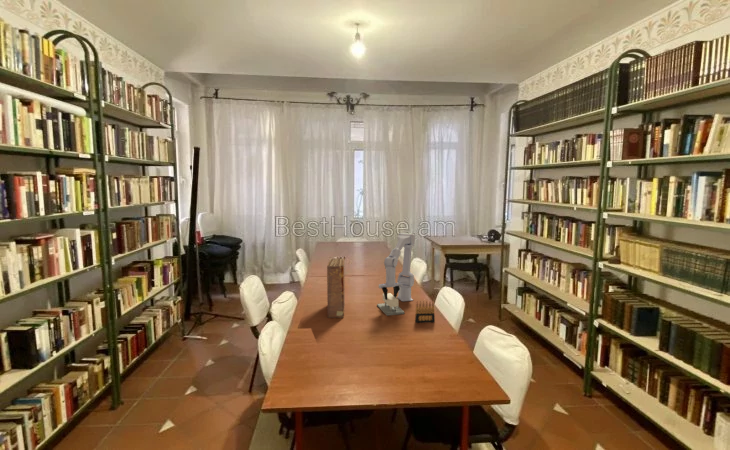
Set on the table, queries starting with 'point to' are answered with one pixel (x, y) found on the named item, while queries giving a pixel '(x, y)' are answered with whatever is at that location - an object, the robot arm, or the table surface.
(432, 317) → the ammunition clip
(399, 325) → the table surface
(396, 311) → the flat gray board
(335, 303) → the book
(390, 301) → the cream rectangular block
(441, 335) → the table surface
